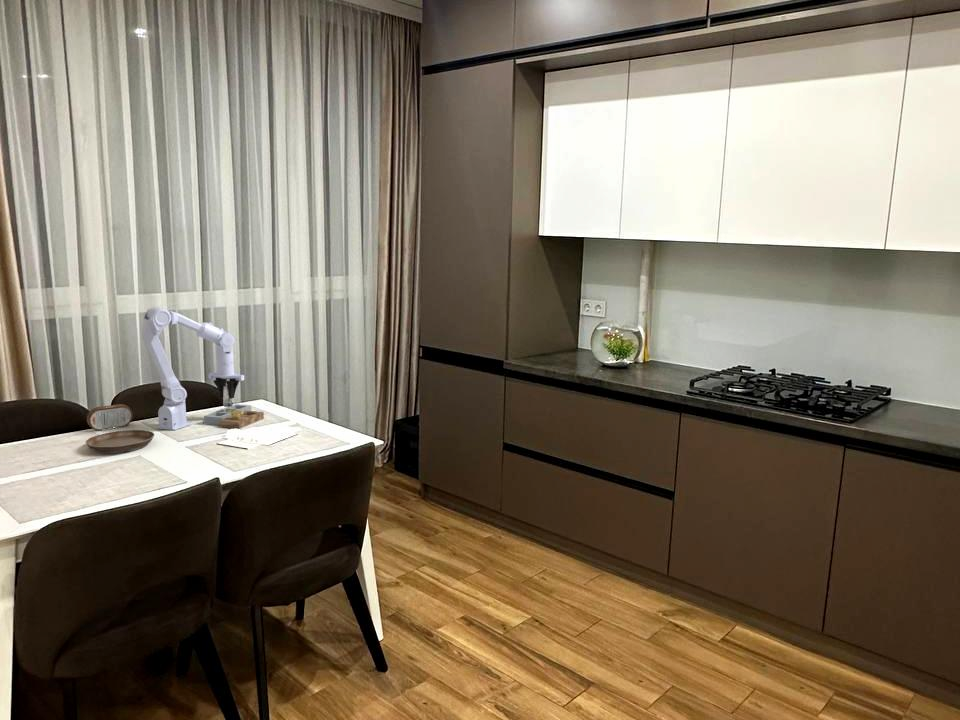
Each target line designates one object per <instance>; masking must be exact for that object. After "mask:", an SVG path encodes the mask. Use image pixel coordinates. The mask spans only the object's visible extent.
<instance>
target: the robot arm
mask: <svg viewBox="0 0 960 720" xmlns="http://www.w3.org/2000/svg"><path fill="white" fill-rule="evenodd" d="M142 317H143V322H142V323H143V324H142V329H141V338H142V340H143V342H144V345H145V347H146V349H147V352H148V354H149V356H150V359H151V361H152V363H153V365H154V367H155V370H156V373H157V375H158V376H159V379H160V386H161V394H162V396H163V398H165V399H164V401H163V405H162V406H160V407H159V409H158V411H157V416H158V418H157V419H158V426H157V428H156V429H161V430H171V431H178V430H179V429H182V428H185V427H188V426H190V425H192V424H193V422H189V421H187V410H186V409H187V408H186V398H187V397H188V393H187V390H186V389H185V388H184V387H183V386H182V385H181V382H180V381H179V379H178V378H177V377H176V375H175V373H174V371H173V368H172V366H171V364H170V361H169V359H168V357H167V356H168V355H167V354H166V351H165V349H164V347H163V345H162V342H161V341H160V338H159V337H160V335H161V333H162V331H163V330H164V329H165V328H167V326H168V325H180V326H182V327H185V328H188V329H190V330H193V331H194V332H196V334H197V336H198V337H200V338H201V339H204V340H206V341H209V342H211V343H213V344H215V345H216V350H217V351H216V354H217V355H216V356H217V357H216V358H217V372H210V373H208V379H214V380H213V383H214V385H215V386H216V388H217V390H218V393H219V396H220V398H221V399H223V385H227V386H228V391H229V399H232V400H233V398H235V394H236V390H237V387H238V385H239V383H240V382H242V381H245V375H244V374H240V373H235V366H234V363H235V362H234V350H233V349H234V348H233V347H234V345H235V342H236V339H235V337H234V335H233V334H232V333H231V332H229V331H225V330H224V328H222V327H221V328H220V327H217V326H214V325H213V322H209V321H208V322H207V321H206V322H201V323H200V322H197V321H195V320H194V319H193V320H192V319H190V318H189V317H187V316H184V315H183V314H180V313H178V312H175V311H172V310H168V309H166V308H165V309H164V308H161V307H159V306H152V307H150V308H148V309H147V310H146V312H145V313H144V315H143V316H142Z"/></svg>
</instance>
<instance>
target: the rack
mask: <svg viewBox="0 0 960 720" xmlns="http://www.w3.org/2000/svg"><path fill="white" fill-rule="evenodd" d="M229 409H230V410H241V411H252V405H246V404H240V403H239V404H237V403H235V404H232V406H231V407H224V408H222V409H219V410H216V411H214V412H210V413H208V414H206V415H203V425H211V426H220V420H222V419H225V418H227V417H230V416H231V413H228V410H229Z"/></svg>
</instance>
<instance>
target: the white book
mask: <svg viewBox="0 0 960 720" xmlns="http://www.w3.org/2000/svg"><path fill="white" fill-rule="evenodd" d="M301 430H302V428H299V427H295V426H294V427H292V426H286V425H279V424H275V423H274V424H272V423H271V424H269V425H266V426H262V427H257V426H255V427H254V426H252V427H250V428H246V429H242V430H241V428H240V429H235V428H230V429H227V432H226V434H225V436H222V438H221V439H223V440H222V441H219V442H216V445H218V444H219V445H224V446H225V445H226V446H232V447H237V448H242V449H243V448H245V449H247V450H250V449H253V448H256V447H259V446H264V447H265V446H266V447H269V446H270V445H272V444H275V443H277V442H279V441H282V440H284V439H287V438H290V437H292V436H296V435H299V433H296V432H298V431H301Z"/></svg>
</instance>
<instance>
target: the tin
mask: <svg viewBox="0 0 960 720" xmlns="http://www.w3.org/2000/svg"><path fill="white" fill-rule="evenodd" d="M133 414H134V413H133V411H132V410H131V408H130V407H129V406H128V405H127V404H123V403H122V404H119V403H118V404H113V405H103V406H96V407H94V408H92V409H90V411H89V412H88V413H87V415H86V423H87V425H88V426H89V427H90V428H92V429H93V430H95V431H103V430H102V429H107V430H109V429H108V428H113V427H121V428H124V426H125V427H127V426H128V425H129V424H131V422H132V421H133V418H134V415H133Z"/></svg>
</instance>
